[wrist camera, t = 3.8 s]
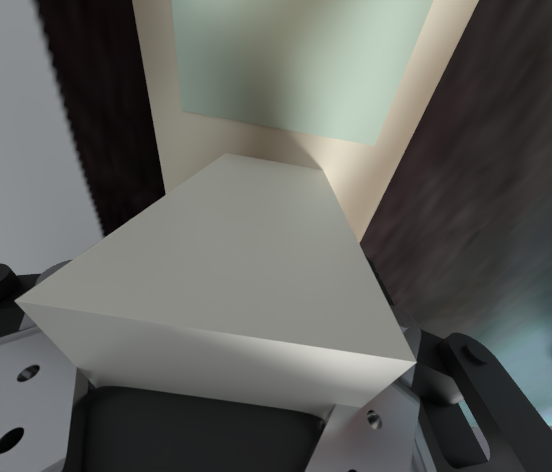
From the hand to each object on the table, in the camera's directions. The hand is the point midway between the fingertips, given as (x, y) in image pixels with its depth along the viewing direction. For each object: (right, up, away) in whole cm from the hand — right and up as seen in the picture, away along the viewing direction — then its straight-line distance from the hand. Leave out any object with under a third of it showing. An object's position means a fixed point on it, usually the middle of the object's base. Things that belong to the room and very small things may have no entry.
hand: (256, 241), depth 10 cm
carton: (0, +1, +2) cm, 2 cm away
